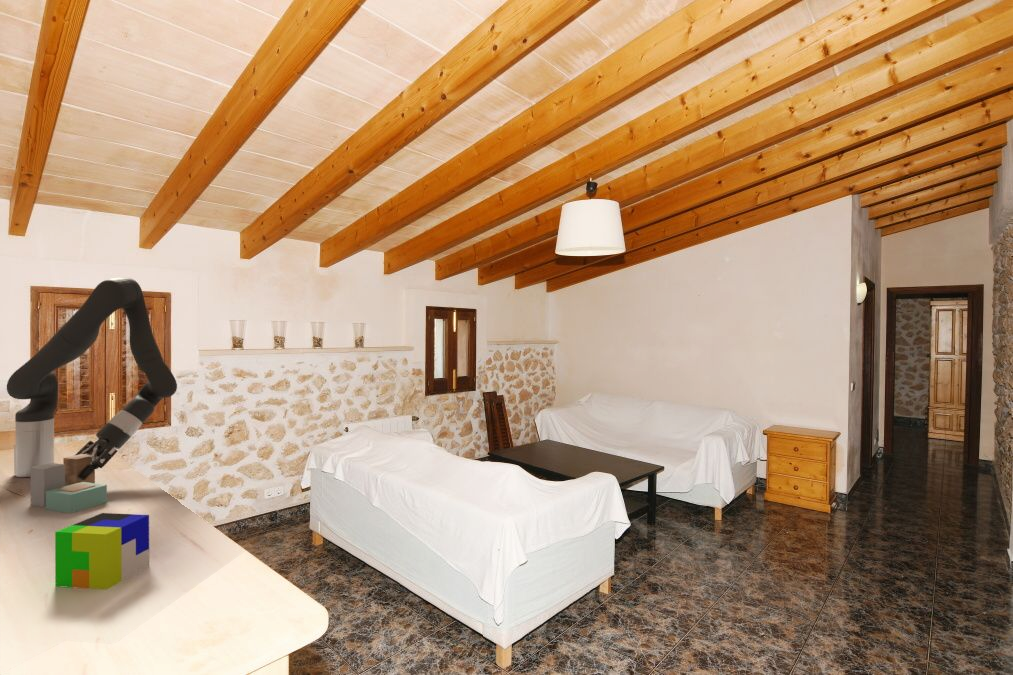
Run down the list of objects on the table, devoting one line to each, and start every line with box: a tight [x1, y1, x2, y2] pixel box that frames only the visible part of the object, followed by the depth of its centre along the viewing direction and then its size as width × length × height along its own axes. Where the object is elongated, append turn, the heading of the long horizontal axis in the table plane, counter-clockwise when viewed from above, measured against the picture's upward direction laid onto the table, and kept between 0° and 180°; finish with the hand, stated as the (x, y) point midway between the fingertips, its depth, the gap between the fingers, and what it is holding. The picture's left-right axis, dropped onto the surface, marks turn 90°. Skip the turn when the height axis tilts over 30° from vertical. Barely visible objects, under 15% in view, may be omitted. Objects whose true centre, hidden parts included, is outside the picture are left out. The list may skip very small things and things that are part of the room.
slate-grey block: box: [30, 462, 65, 508], centre depth 141 cm, size 5×5×10 cm
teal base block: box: [45, 482, 108, 514], centre depth 140 cm, size 9×9×5 cm
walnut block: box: [62, 454, 96, 486], centre depth 152 cm, size 5×5×10 cm
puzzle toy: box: [54, 512, 150, 590], centre depth 101 cm, size 10×10×10 cm
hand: (73, 476), depth 150 cm, fingers open, 8 cm apart
